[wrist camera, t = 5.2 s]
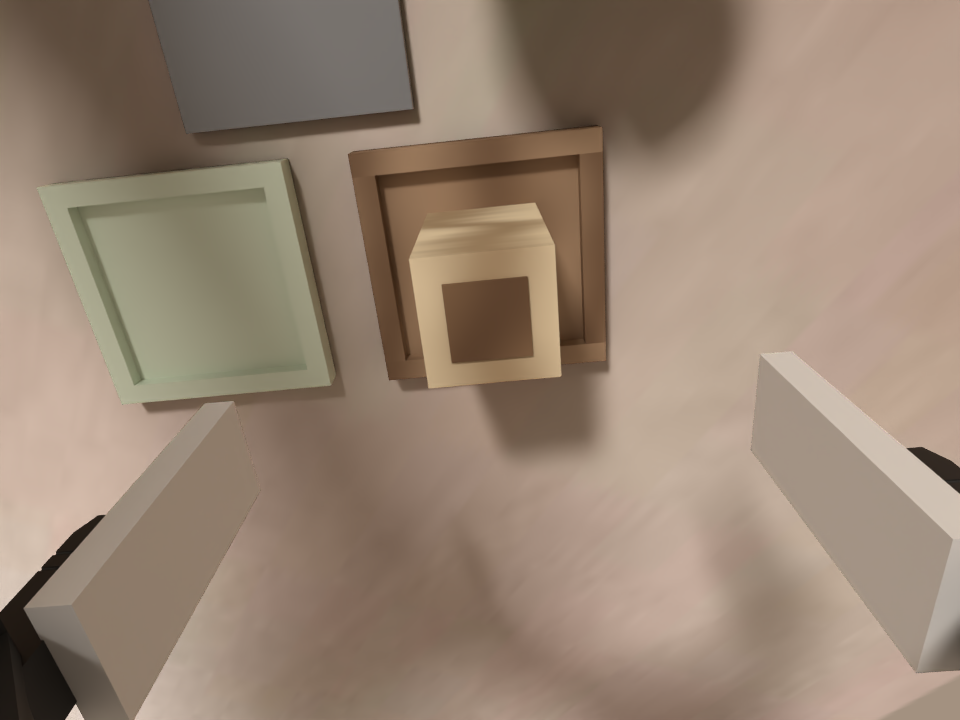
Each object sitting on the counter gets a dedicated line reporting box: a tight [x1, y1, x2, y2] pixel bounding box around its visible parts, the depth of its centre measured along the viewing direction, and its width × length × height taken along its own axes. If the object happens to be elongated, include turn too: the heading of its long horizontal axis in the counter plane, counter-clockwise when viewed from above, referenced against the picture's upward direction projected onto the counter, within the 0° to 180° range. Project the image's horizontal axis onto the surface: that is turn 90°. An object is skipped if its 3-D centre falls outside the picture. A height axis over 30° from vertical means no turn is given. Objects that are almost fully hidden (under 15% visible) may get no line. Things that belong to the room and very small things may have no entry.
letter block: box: [409, 203, 561, 388], centre depth 25 cm, size 5×5×8 cm
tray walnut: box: [348, 125, 606, 380], centre depth 29 cm, size 11×11×1 cm
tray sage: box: [37, 158, 336, 405], centre depth 29 cm, size 11×11×1 cm
